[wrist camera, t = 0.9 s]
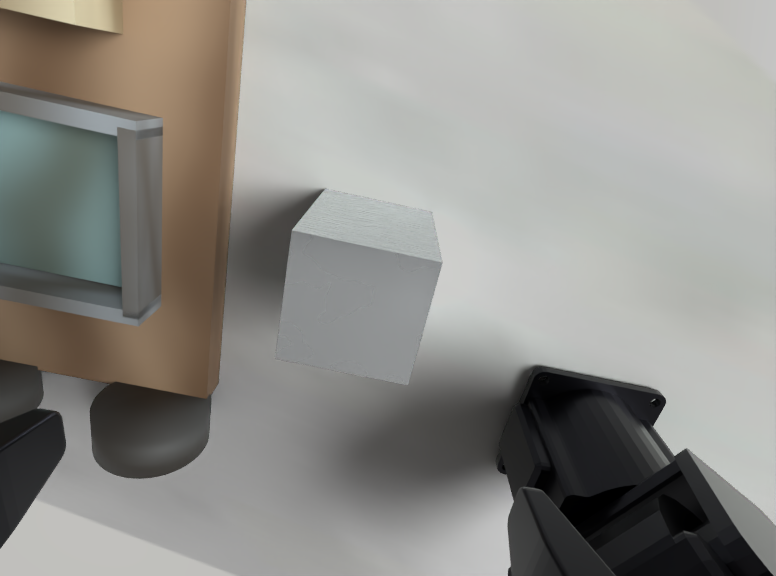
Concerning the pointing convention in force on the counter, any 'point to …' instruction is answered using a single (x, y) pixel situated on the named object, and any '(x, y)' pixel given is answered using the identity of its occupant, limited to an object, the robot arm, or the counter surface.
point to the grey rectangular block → (358, 286)
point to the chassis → (118, 214)
